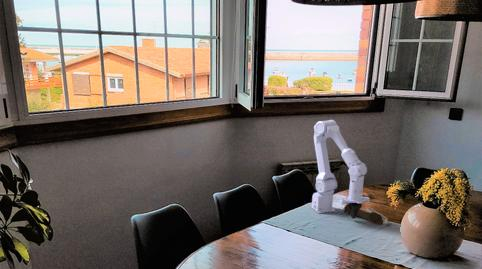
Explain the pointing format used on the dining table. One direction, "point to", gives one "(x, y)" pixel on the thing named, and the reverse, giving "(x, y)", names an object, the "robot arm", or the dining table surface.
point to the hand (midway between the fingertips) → (353, 217)
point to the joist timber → (377, 213)
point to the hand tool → (367, 215)
